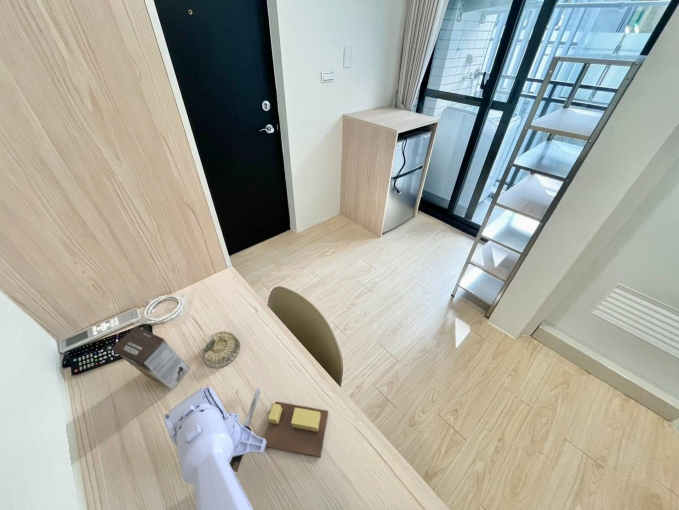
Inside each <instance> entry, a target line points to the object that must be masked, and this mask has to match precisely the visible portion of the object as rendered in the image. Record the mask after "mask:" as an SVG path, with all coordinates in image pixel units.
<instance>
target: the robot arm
mask: <svg viewBox="0 0 679 510" xmlns="http://www.w3.org/2000/svg"><path fill="white" fill-rule="evenodd" d="M168 413H169V414H168ZM168 413H165V414H163V415H164V416H163V422H164V424H165V427H166V429H167V432H168V434H169V437H170V439H171V442H172V443H173V444H174V445H175V446H176V448H177V449H176V450H177V456H178V462H179V468H180V475H181V478H182V479H183V481H184V482H185V483H186V484H189V485H191V486H194V497H195V510H254V508H253V506H252V504H251V502H250V500H249V498H248V496H247V494H246V492H245V491H244V489H243V487H242V485H241V483H240V481H239V479H238V477H237V475H236V472H235V471H233V469H232V468H231V466H230V464H229V463H230V462H231V461H232V462H240V461H241V462H242V460H243V457H244V456H245V455H248V454H252V453H257V454H260V455H263V454H264V452H265V450H266V447H265V446H266V442H267V441H266V440H265V437H264V438H263V437H260V436H258V435H256V434H255V433H254V432H253V431H252V428H251V427H250V426H249V427H248V426H244V424H242V423H240V422H239V419H240V414H238V413H234V412H229V413H228V412H227V410H226V409H225V406H224V404H223V402H222V400H221V399H220V398H219V396H218V394H217V393H216V391H215V390H214V389H213V387H211V386H209V384H208V385H206V387H203V386H202V387H200V388H198V389H197V390H196V391H194V392H193V393H192V394H190V395H189V396H187V397H186V398H185V399H183V400H182V401H181V402H179V403H178V404H177V405H175V406H173V407H172V408H171V409H170V410H169V411H168ZM241 459H242V460H241ZM241 462H240V463H241Z"/></svg>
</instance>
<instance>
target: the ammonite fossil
mask: <svg viewBox="0 0 679 510" xmlns="http://www.w3.org/2000/svg"><path fill="white" fill-rule="evenodd" d="M210 338H211V339H210V340H209V341H208V342H207V344H206V345H205V346H204V348H203V351H202V360H203V362H204V364H205V365H206V366H208V367H210V368H212V369H221V368H224V367H226V366H228V365H230V364H232V363H233V362H234V361H235V359H236V358H237V357H238V355H239V353H240V350H241V344H240V340H239V338H237V337H236V335H235V334H233V333H232V332H229V331H225V330H223V331H221V330H220V331H219V332H218V331H217V332H215V333H213V334H211V335H210Z"/></svg>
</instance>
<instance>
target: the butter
mask: <svg viewBox="0 0 679 510" xmlns="http://www.w3.org/2000/svg"><path fill="white" fill-rule="evenodd" d="M320 417H321V415H320V412H317V411H312V410H306V409H300V408H295V409H294V413H293V417H292V421H291V424H292V426H293V427H295V428H301V429H306V430H311V431H317V432H318V428H319V423H320Z"/></svg>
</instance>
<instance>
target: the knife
mask: <svg viewBox="0 0 679 510" xmlns="http://www.w3.org/2000/svg"><path fill="white" fill-rule="evenodd" d="M260 395H261V390H260V389H259V387H256V390H255V393H254V395H253V398H252V401H251V404H250V407H249V409H248V413H247V415H246V417H245V420H244V424H243V425H244V426H248V427H250V424H251V421H252V418H253V415H254V412H255V410H256V406H257V403H258V401H259V398H260ZM242 460H243V458H242V459H241V461H240V462H232V461H231V462H230V463H229V464H230V466H231V468H232V469H233V471H234V473H238V472H239V468H240V466H241V463H242Z"/></svg>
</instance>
